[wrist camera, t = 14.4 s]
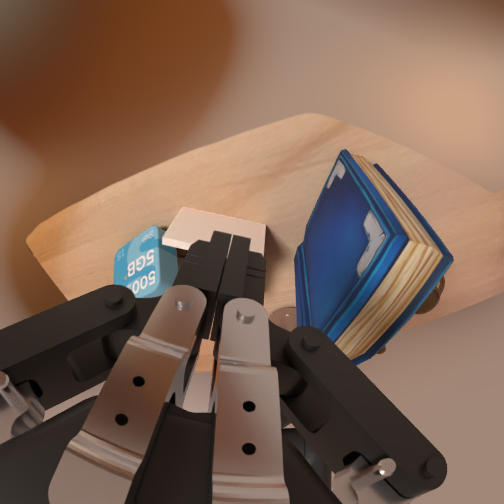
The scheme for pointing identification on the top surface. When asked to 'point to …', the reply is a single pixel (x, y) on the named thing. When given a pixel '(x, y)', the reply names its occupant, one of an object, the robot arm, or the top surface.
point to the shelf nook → (210, 230)
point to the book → (365, 259)
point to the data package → (146, 264)
